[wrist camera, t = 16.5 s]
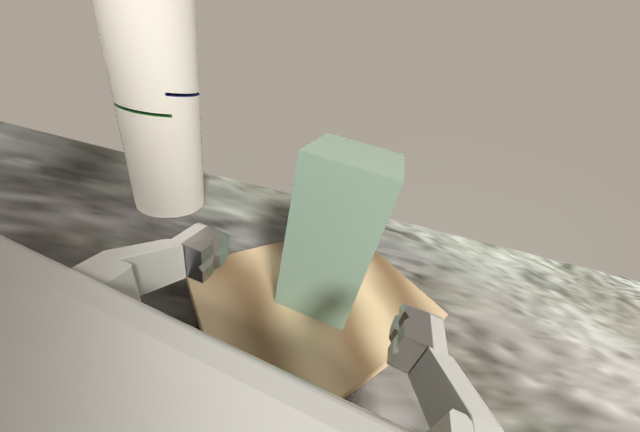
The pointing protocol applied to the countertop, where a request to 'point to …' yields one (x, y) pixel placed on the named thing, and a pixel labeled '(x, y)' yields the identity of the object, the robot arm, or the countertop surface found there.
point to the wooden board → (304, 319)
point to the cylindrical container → (156, 99)
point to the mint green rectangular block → (335, 224)
